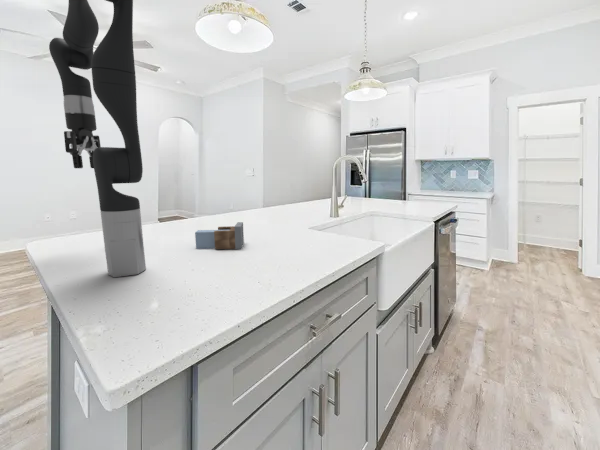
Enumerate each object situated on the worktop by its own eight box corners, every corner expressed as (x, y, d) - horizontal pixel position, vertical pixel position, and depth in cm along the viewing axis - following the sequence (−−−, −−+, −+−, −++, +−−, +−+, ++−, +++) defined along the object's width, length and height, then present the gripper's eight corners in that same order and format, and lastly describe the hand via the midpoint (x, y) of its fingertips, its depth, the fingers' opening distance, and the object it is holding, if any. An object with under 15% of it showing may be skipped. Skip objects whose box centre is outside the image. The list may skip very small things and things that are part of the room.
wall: (235, 249, 110) (234, 226, 108) (238, 243, 118) (237, 222, 117) (241, 249, 110) (240, 226, 108) (243, 243, 119) (243, 222, 117)
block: (215, 249, 109) (214, 231, 108) (219, 242, 118) (218, 226, 117) (235, 248, 110) (234, 231, 108) (238, 242, 118) (237, 226, 117)
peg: (196, 249, 111) (195, 232, 110) (199, 246, 115) (198, 230, 114) (230, 248, 112) (229, 231, 111) (232, 245, 116) (231, 229, 115)
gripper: (81, 117, 101) (87, 168, 104) (50, 109, 87) (58, 168, 90) (105, 117, 102) (111, 168, 105) (78, 109, 88) (86, 168, 91)
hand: (87, 168), depth 97 cm, fingers open, 8 cm apart
